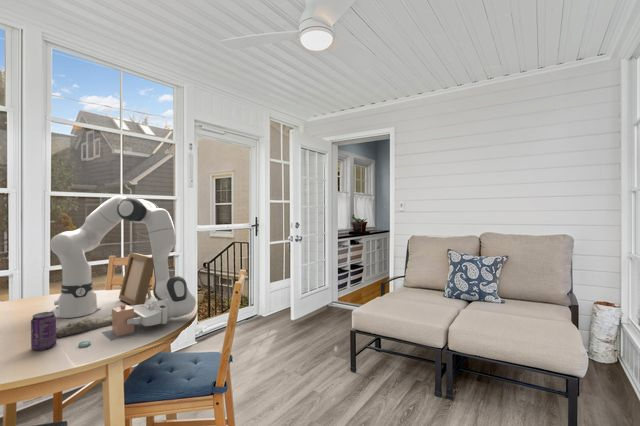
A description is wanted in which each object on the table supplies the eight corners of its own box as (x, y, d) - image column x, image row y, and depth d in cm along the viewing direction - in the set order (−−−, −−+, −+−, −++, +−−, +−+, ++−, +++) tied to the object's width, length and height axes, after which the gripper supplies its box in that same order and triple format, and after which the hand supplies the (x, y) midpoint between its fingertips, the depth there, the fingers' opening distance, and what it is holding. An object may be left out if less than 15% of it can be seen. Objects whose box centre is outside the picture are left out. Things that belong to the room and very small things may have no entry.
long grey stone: (144, 322, 156) (133, 318, 161) (144, 310, 156) (133, 307, 162) (50, 342, 127) (40, 337, 133) (50, 328, 127) (41, 323, 133)
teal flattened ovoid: (77, 347, 124) (77, 343, 124) (88, 344, 127) (88, 340, 127) (79, 350, 122) (79, 345, 122) (91, 347, 125) (91, 342, 125)
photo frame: (134, 308, 169) (135, 258, 169) (118, 300, 183) (119, 253, 183) (164, 302, 180) (165, 255, 180) (147, 295, 195) (147, 251, 194)
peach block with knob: (112, 332, 137) (112, 305, 137) (128, 328, 142) (128, 302, 141) (117, 336, 133) (117, 308, 133) (133, 332, 138) (133, 305, 137)
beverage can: (40, 343, 127) (40, 311, 127) (61, 343, 128) (60, 311, 127) (25, 351, 120) (25, 317, 120) (47, 351, 121) (47, 317, 120)
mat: (101, 333, 137) (101, 332, 137) (133, 326, 146) (133, 324, 146) (111, 342, 129) (111, 340, 129) (144, 333, 138) (144, 332, 138)
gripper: (148, 299, 154) (113, 305, 144) (168, 309, 141) (131, 317, 130) (148, 313, 155) (113, 320, 144) (168, 324, 141) (131, 333, 131)
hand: (122, 318), depth 137 cm, fingers open, 8 cm apart
